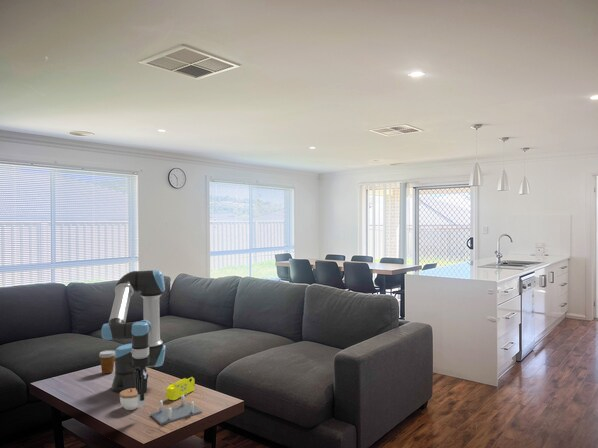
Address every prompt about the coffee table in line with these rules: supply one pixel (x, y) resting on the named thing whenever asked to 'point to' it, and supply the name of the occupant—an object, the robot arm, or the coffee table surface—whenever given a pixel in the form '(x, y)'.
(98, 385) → the coffee table surface
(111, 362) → the disposable coffee cup
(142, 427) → the coffee table surface
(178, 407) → the pin tray
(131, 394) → the lidded jar
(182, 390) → the yellow toy chassis
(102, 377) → the coffee table surface
